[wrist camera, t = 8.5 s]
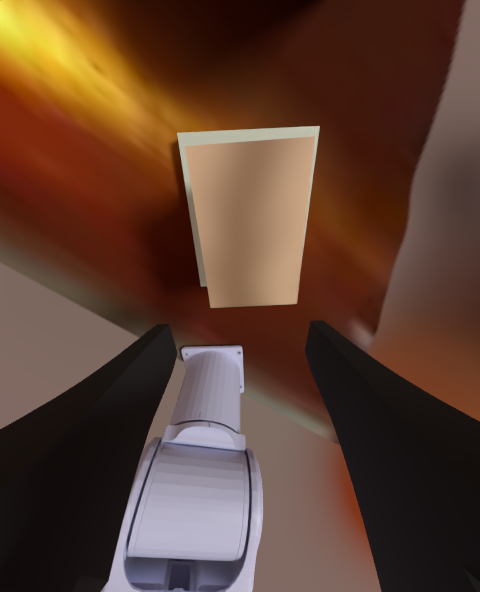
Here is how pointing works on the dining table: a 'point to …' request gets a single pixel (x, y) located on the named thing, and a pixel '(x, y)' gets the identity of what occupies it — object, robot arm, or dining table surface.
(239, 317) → the dining table surface
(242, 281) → the stool
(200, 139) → the board
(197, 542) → the robot arm
